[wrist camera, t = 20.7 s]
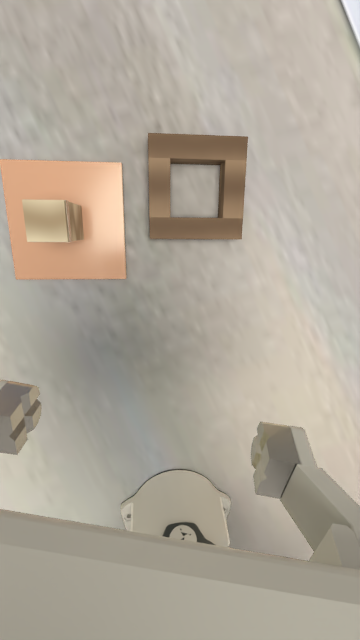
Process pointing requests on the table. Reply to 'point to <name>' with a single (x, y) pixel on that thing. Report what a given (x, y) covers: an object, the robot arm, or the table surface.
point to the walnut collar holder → (197, 151)
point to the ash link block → (52, 221)
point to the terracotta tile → (97, 214)
